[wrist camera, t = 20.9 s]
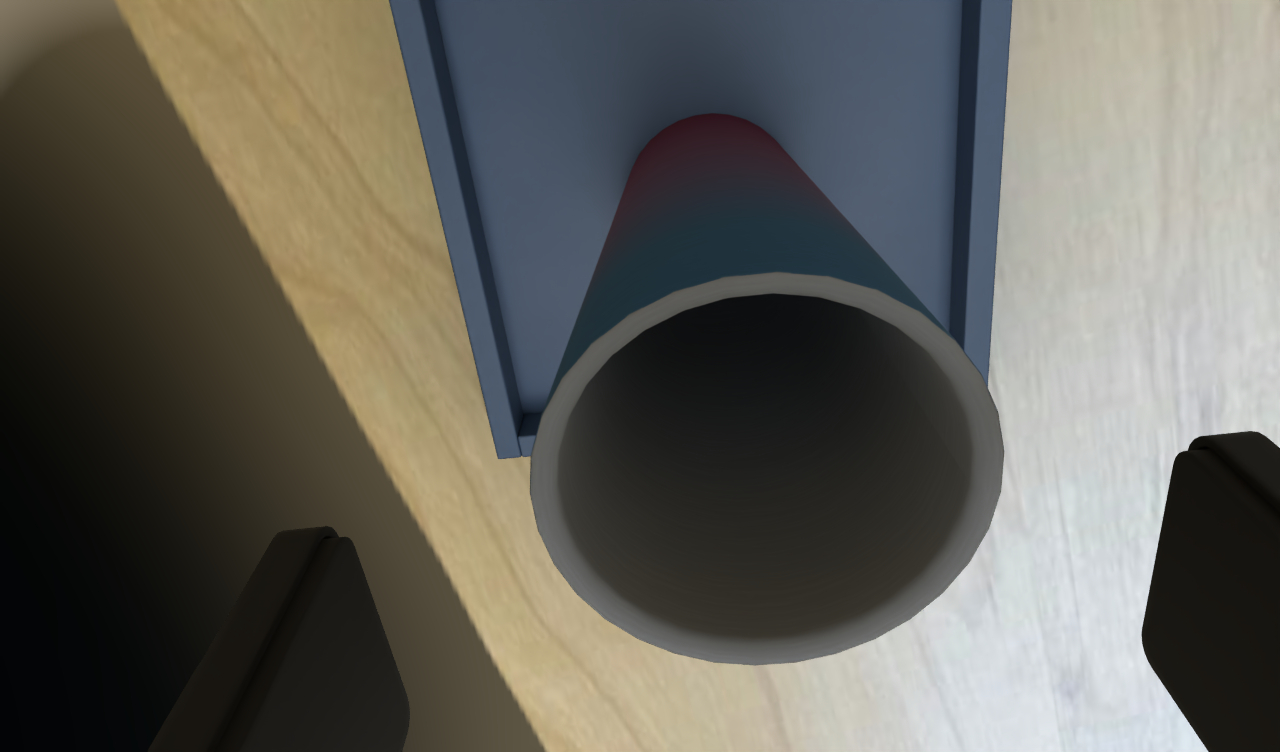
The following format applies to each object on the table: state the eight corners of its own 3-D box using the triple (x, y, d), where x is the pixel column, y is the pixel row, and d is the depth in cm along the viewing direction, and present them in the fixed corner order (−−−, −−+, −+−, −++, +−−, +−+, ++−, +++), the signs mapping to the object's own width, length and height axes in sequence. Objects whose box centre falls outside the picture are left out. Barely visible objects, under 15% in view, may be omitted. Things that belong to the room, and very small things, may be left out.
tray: (507, 428, 30) (497, 460, 29) (392, -74, 23) (370, -73, 22) (966, 383, 29) (986, 413, 27) (994, -161, 22) (1023, -168, 20)
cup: (600, 307, 28) (545, 666, 14) (590, 81, 25) (508, 275, 11) (818, 304, 27) (966, 666, 14) (836, 77, 24) (1047, 268, 11)
